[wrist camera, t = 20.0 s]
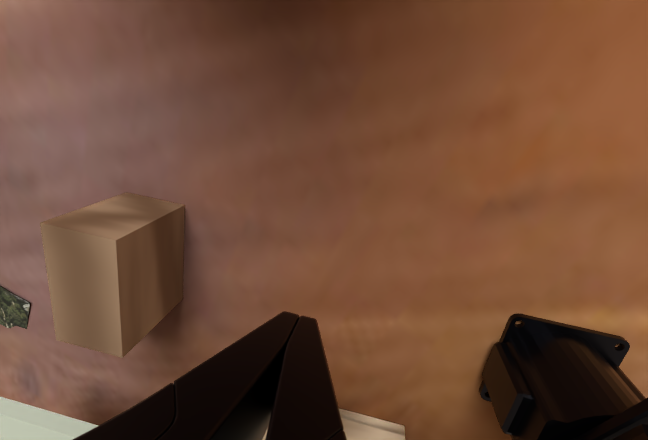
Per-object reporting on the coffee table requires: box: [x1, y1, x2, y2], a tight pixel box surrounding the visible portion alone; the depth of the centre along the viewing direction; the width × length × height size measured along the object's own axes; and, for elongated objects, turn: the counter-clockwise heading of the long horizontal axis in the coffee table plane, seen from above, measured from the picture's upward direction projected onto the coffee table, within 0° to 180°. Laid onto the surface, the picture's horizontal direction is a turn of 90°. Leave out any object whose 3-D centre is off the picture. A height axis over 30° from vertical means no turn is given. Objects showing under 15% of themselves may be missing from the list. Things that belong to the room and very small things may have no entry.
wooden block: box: [40, 192, 185, 358], centre depth 20 cm, size 4×7×6 cm, turn 171°
